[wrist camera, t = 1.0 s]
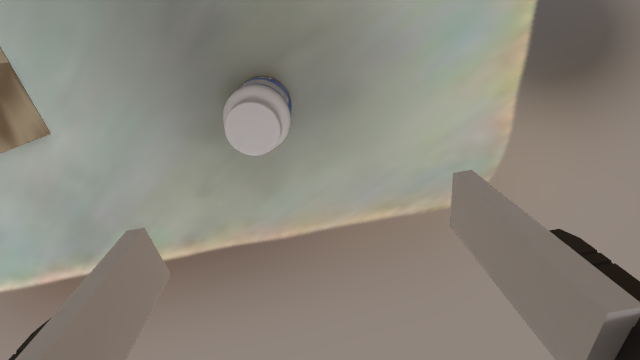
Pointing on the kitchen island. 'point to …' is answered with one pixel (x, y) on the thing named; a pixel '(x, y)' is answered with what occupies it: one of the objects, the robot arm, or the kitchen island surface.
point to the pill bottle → (257, 116)
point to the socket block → (16, 111)
